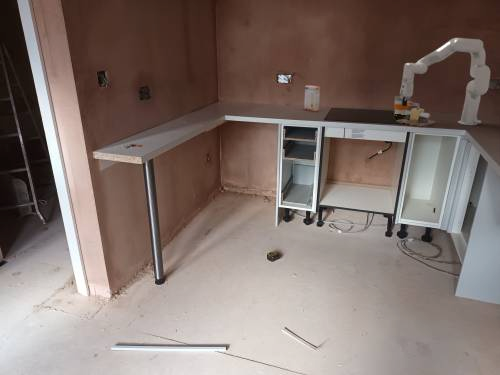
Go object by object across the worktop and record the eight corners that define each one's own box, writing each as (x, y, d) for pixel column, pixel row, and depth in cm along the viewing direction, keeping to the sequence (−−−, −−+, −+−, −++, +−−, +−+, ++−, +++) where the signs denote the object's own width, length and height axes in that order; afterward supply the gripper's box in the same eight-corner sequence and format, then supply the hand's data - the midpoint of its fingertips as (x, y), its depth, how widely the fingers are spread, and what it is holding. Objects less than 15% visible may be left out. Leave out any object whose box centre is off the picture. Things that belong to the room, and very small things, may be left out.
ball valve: (429, 122, 280) (431, 110, 277) (424, 123, 277) (426, 111, 274) (407, 118, 294) (409, 106, 290) (403, 119, 291) (404, 107, 287)
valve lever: (420, 108, 282) (421, 103, 280) (418, 109, 280) (418, 103, 279) (407, 106, 290) (408, 101, 289) (405, 106, 289) (405, 101, 287)
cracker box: (319, 111, 333) (320, 86, 325) (313, 111, 330) (315, 87, 322) (309, 108, 344) (310, 85, 336) (303, 109, 341) (304, 85, 333)
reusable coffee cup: (401, 116, 307) (404, 98, 301) (389, 114, 317) (391, 96, 311) (411, 115, 312) (414, 96, 307) (399, 112, 322) (401, 95, 317)
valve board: (435, 123, 284) (436, 117, 282) (420, 127, 273) (421, 120, 271) (411, 119, 299) (412, 113, 297) (396, 122, 288) (397, 116, 286)
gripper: (406, 81, 270) (402, 107, 277) (418, 80, 278) (414, 105, 285) (397, 81, 276) (393, 106, 283) (409, 79, 284) (405, 104, 291)
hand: (404, 105), depth 284 cm, fingers closed
